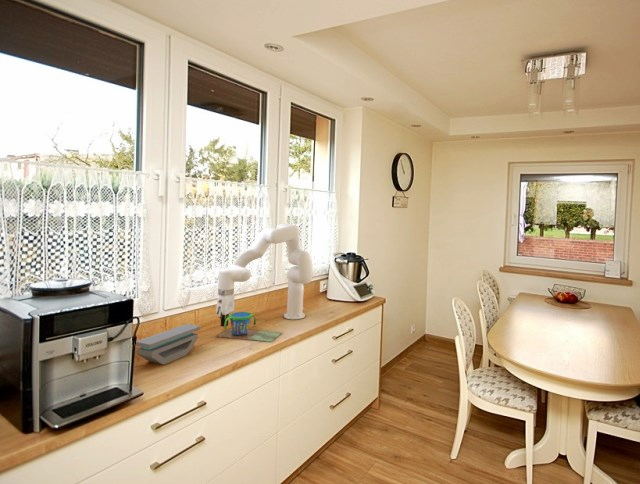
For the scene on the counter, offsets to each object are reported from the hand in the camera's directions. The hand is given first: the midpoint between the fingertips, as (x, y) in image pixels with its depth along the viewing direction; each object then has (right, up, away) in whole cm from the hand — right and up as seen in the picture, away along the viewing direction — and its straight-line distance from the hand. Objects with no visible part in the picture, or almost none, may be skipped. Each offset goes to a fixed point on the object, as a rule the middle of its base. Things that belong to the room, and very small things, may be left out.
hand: (224, 326), depth 191 cm
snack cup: (+9, -4, -1) cm, 10 cm away
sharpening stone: (-8, -4, -33) cm, 35 cm away
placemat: (+14, -4, -1) cm, 14 cm away
